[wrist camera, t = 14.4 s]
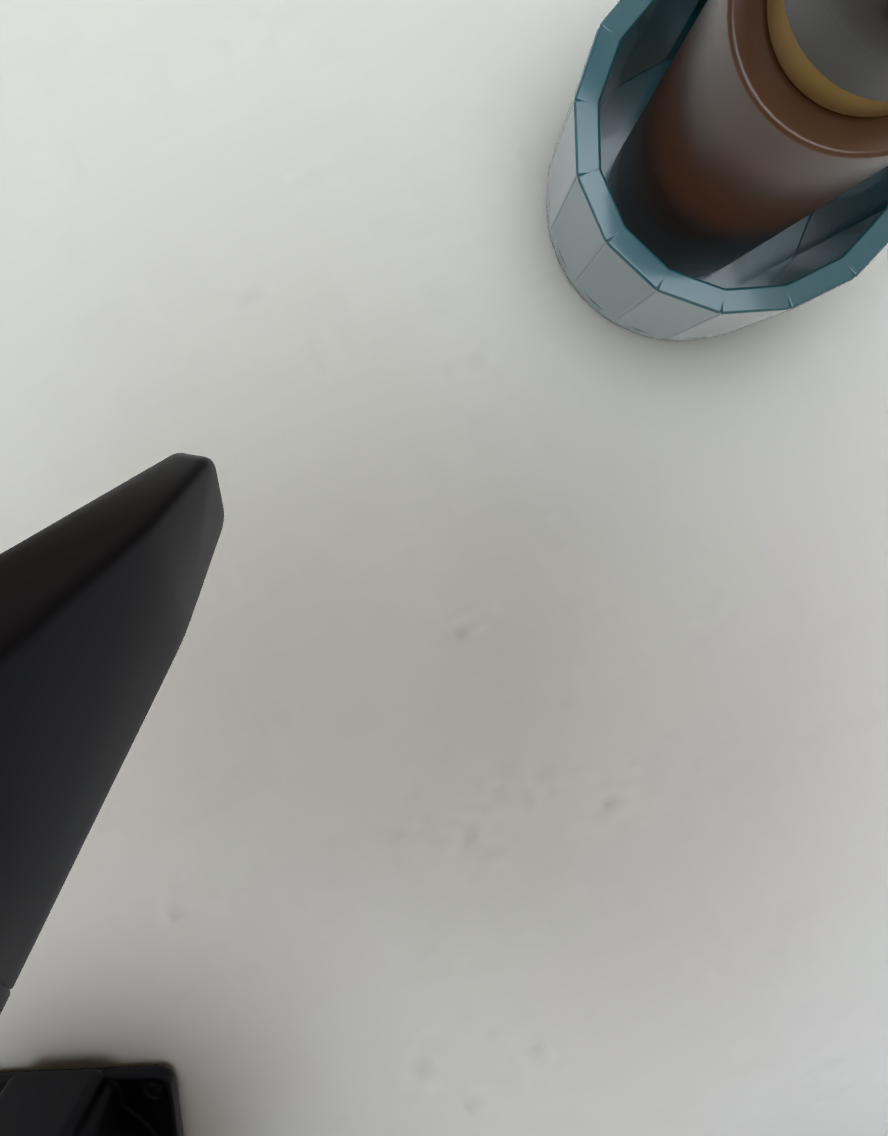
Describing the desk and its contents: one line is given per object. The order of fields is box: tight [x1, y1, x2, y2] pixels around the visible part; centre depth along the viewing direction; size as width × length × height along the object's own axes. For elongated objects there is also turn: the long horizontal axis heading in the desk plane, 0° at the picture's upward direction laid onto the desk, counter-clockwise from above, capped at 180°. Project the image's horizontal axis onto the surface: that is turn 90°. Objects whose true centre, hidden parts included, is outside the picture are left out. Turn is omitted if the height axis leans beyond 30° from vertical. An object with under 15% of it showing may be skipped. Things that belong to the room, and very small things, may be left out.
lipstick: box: [609, 0, 888, 277], centre depth 14 cm, size 4×4×12 cm
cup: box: [547, 0, 888, 340], centre depth 18 cm, size 7×7×5 cm
